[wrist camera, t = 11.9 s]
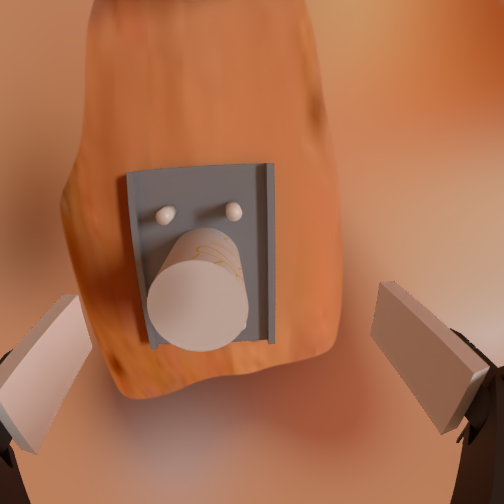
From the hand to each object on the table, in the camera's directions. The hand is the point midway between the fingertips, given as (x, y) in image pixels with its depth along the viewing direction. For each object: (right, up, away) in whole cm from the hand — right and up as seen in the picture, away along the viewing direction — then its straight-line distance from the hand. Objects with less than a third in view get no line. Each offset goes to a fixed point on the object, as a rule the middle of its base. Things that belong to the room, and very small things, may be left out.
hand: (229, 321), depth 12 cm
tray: (-5, +2, +24) cm, 24 cm away
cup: (-5, +2, +23) cm, 23 cm away
